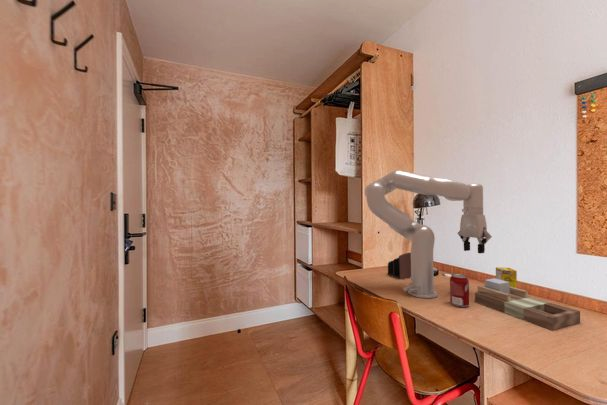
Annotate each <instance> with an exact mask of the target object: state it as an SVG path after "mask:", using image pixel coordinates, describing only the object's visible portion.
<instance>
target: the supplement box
mask: <svg viewBox="0 0 607 405" xmlns="http://www.w3.org/2000/svg"><path fill="white" fill-rule="evenodd" d="M517 273H518V272H517V270H516V269H513V268H511V267H500V266H499V267H498V266H497V267H495V279H499V280H503V281H507V282H509V286H511V287H514V288H518V284H517V282H518V281H517V280H518V278H517V276H518V275H517Z"/></svg>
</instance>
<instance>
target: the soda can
mask: <svg viewBox="0 0 607 405" xmlns="http://www.w3.org/2000/svg"><path fill="white" fill-rule="evenodd" d="M449 303H450V304H451V305H453V306H455V307H458V308H466V307H468V306H470V281H469V278H468V276H467V275H466V274H463V273H452V274H451V276H450V278H449Z"/></svg>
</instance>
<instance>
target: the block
mask: <svg viewBox="0 0 607 405" xmlns="http://www.w3.org/2000/svg"><path fill="white" fill-rule="evenodd" d="M484 287H487V288H490V289H494V290H497V291H501V292H504V293H507V294H510V289H509V282H507V281H503V280H499V279H496V277H495V278H487V279H484Z"/></svg>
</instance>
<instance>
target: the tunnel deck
mask: <svg viewBox="0 0 607 405" xmlns="http://www.w3.org/2000/svg"><path fill="white" fill-rule="evenodd" d="M509 289H510V294H507V293H504V292H501V291H497V290H494V289H490V288H487V287H485V285H484V286H483V285H477V291H475V292H474V302H475V303H477V304H479V305H482V306H485V307H487V308H490V309H493V310H496V311H498V312H502V313H504V314H506V315H509V316H513V317H515V318H517V319H520V320H524V321H525V322H528V323H531V324H534V325H536V326H540V327H542V328H546V329H547V330H551V331H555V330H558V329H562V328H563V329H564V328H566V327H570V326H573V325H577V324H580V323H581V311H580V310H579V309H578V310H577V309H574V308H570V307H567V306H565V305H560V304H556V303H555V302H554V303H553V302H549V301H545V300H543V299H540V298H536V297H532V296H529V292H528V291H529V290H525V289H522V288H518V287H517V288H514V287H511V286H509Z"/></svg>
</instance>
